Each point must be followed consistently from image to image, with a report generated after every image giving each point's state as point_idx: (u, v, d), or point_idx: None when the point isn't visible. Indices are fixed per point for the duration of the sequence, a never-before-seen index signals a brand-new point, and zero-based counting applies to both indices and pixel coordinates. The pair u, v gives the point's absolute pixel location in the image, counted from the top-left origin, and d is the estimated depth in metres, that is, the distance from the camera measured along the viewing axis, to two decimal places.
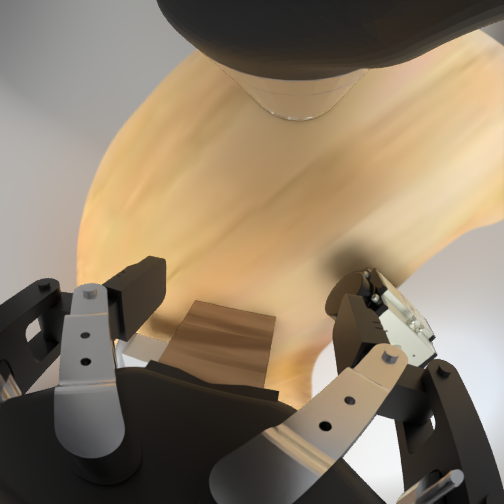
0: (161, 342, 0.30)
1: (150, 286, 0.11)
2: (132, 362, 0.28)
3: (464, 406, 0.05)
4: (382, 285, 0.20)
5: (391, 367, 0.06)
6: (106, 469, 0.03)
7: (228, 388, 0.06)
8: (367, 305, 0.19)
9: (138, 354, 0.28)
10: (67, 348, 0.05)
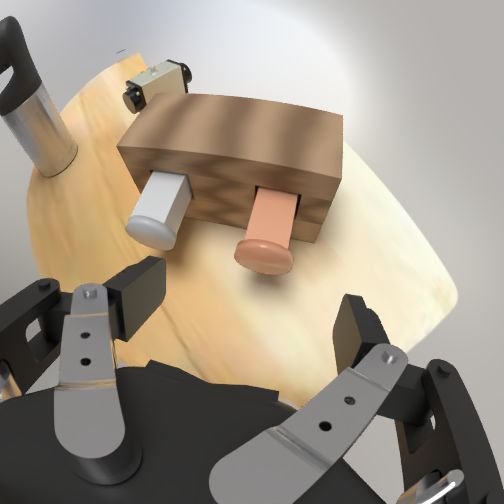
0: None
1: (150, 286, 0.11)
2: (142, 207, 0.27)
3: (464, 406, 0.05)
4: (127, 90, 0.37)
5: (391, 367, 0.06)
6: (106, 469, 0.03)
7: (228, 388, 0.06)
8: (129, 89, 0.36)
9: None
10: (67, 348, 0.05)
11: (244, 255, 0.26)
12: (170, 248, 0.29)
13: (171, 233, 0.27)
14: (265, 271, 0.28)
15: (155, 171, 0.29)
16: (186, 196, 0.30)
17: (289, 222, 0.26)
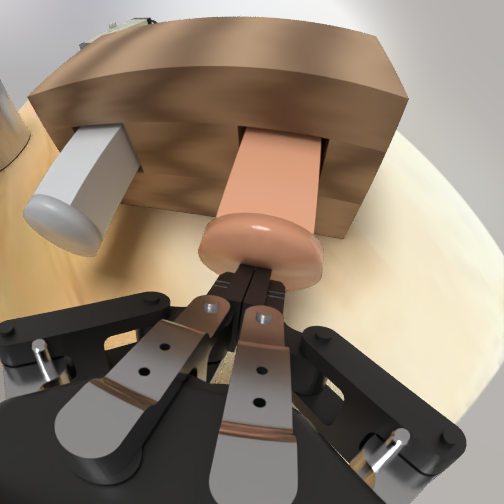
0: None
1: None
2: (48, 183, 0.13)
3: (364, 365, 0.06)
4: None
5: (257, 324, 0.08)
6: (81, 465, 0.03)
7: (228, 388, 0.06)
8: None
9: None
10: (138, 351, 0.05)
11: (219, 252, 0.12)
12: (93, 252, 0.15)
13: (85, 223, 0.13)
14: None
15: (80, 129, 0.15)
16: (124, 164, 0.16)
17: (310, 180, 0.12)
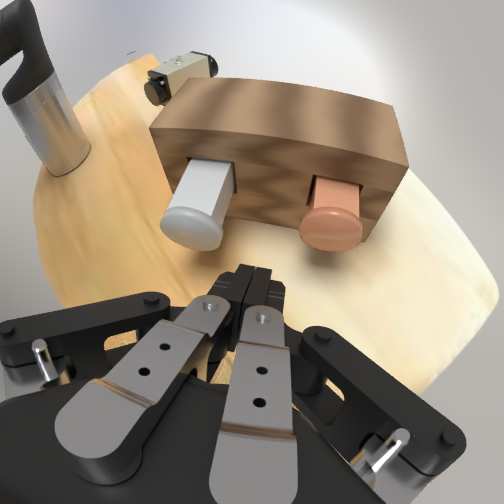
0: None
1: None
2: (182, 198, 0.23)
3: (364, 366, 0.06)
4: (148, 81, 0.35)
5: (257, 324, 0.08)
6: (81, 465, 0.03)
7: (229, 388, 0.06)
8: (152, 79, 0.33)
9: None
10: (138, 351, 0.05)
11: (313, 226, 0.23)
12: (214, 247, 0.25)
13: (219, 228, 0.23)
14: (329, 247, 0.25)
15: (194, 159, 0.25)
16: (229, 188, 0.27)
17: (355, 192, 0.23)
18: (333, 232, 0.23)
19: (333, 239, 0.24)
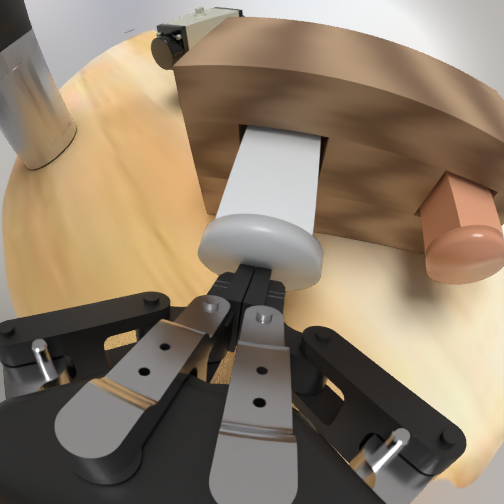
0: None
1: None
2: (244, 197, 0.12)
3: (364, 365, 0.06)
4: None
5: (257, 324, 0.08)
6: (81, 465, 0.03)
7: (228, 388, 0.06)
8: (163, 35, 0.22)
9: None
10: (138, 351, 0.05)
11: (456, 253, 0.12)
12: (299, 288, 0.14)
13: (321, 258, 0.12)
14: (454, 279, 0.14)
15: (253, 128, 0.14)
16: None
17: (491, 201, 0.12)
18: (475, 262, 0.12)
19: (467, 270, 0.13)
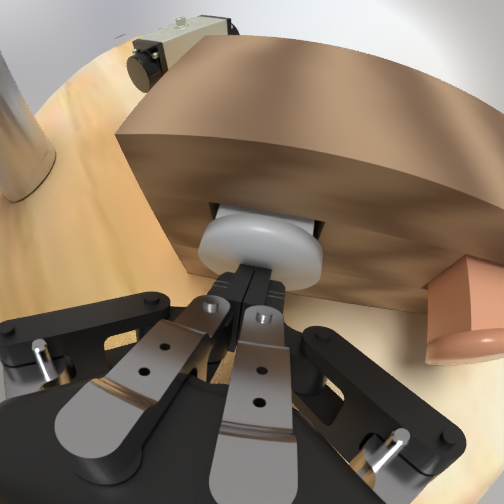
0: None
1: None
2: None
3: (364, 366, 0.06)
4: None
5: (257, 324, 0.08)
6: (81, 465, 0.03)
7: (228, 388, 0.06)
8: (139, 52, 0.19)
9: None
10: (138, 351, 0.05)
11: (461, 356, 0.09)
12: (299, 288, 0.14)
13: (321, 258, 0.12)
14: (455, 363, 0.12)
15: None
16: None
17: None
18: (479, 357, 0.09)
19: (470, 360, 0.10)
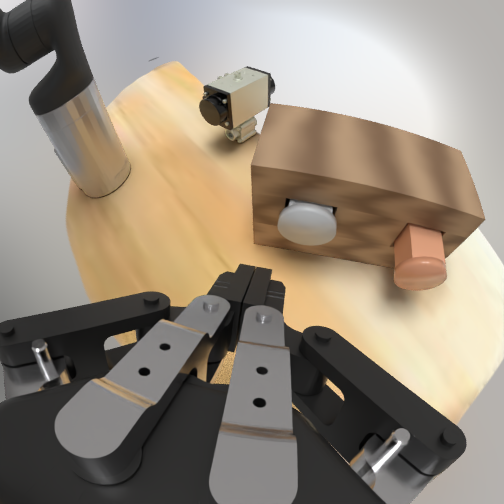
0: None
1: None
2: None
3: (364, 365, 0.06)
4: (203, 97, 0.35)
5: (257, 324, 0.08)
6: (81, 465, 0.03)
7: (228, 388, 0.06)
8: (209, 95, 0.33)
9: None
10: (138, 351, 0.05)
11: (410, 272, 0.22)
12: (325, 242, 0.27)
13: (336, 224, 0.25)
14: (414, 287, 0.25)
15: None
16: None
17: (439, 238, 0.23)
18: (424, 277, 0.23)
19: (421, 282, 0.23)
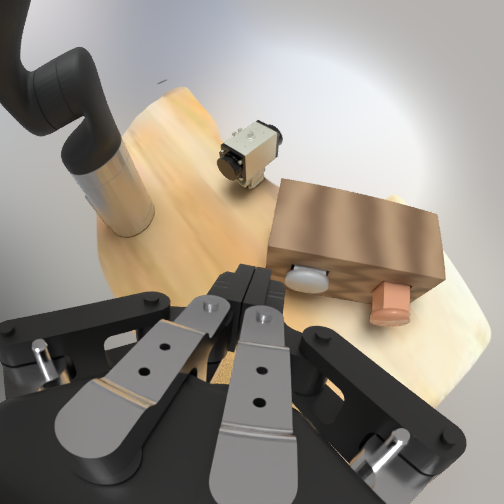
0: None
1: None
2: None
3: (364, 365, 0.06)
4: (219, 152, 0.43)
5: (257, 324, 0.08)
6: (81, 465, 0.03)
7: (228, 388, 0.06)
8: (226, 153, 0.42)
9: None
10: (138, 351, 0.05)
11: (381, 318, 0.32)
12: (319, 292, 0.36)
13: (328, 282, 0.34)
14: (386, 325, 0.34)
15: None
16: None
17: (407, 291, 0.32)
18: (392, 320, 0.32)
19: (390, 322, 0.33)
